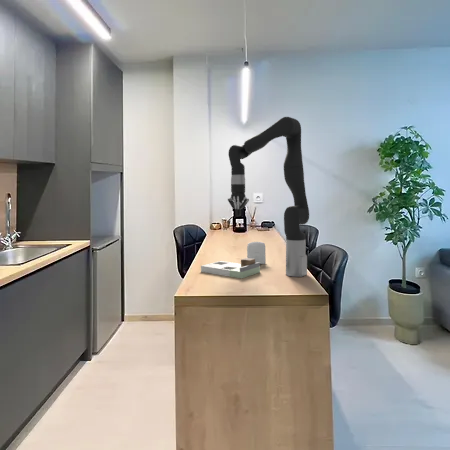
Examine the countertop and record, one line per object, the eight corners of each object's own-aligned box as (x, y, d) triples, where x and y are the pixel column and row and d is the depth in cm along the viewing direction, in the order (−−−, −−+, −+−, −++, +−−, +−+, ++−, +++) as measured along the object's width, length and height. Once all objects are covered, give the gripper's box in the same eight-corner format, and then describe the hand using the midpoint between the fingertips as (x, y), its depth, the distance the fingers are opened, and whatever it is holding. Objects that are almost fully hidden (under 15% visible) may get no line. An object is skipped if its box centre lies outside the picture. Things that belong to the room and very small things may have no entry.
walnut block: (255, 266, 187) (255, 258, 186) (249, 268, 183) (249, 260, 182) (246, 265, 190) (246, 257, 189) (240, 267, 186) (240, 259, 185)
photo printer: (247, 264, 207) (247, 242, 206) (246, 263, 211) (246, 241, 210) (266, 264, 208) (266, 242, 207) (264, 262, 212) (264, 241, 211)
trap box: (259, 272, 188) (259, 262, 188) (241, 278, 176) (241, 267, 175) (220, 266, 203) (220, 257, 203) (201, 271, 191) (200, 261, 190)
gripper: (252, 183, 199) (252, 216, 201) (232, 183, 207) (232, 215, 209) (244, 183, 193) (244, 217, 195) (223, 183, 201) (224, 216, 203)
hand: (238, 216), depth 202 cm, fingers closed
